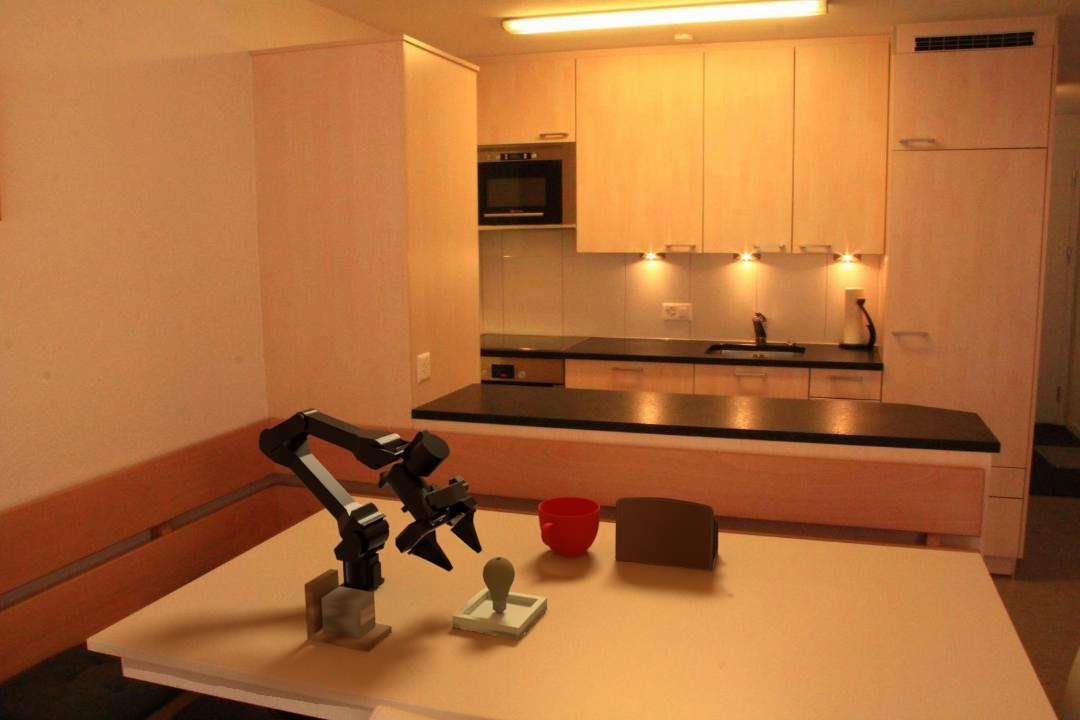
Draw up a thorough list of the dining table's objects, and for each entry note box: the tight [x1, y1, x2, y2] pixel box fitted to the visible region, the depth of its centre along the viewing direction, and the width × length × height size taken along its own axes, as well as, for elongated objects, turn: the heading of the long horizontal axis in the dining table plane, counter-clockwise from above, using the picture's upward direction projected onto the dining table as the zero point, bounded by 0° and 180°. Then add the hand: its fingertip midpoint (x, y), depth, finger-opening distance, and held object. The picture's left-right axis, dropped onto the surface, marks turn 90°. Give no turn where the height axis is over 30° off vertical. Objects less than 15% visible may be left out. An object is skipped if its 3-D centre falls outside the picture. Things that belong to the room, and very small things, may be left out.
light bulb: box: [482, 556, 516, 613], centre depth 146 cm, size 6×6×10 cm
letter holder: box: [614, 496, 720, 572], centre depth 173 cm, size 10×20×14 cm, turn 72°
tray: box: [451, 586, 548, 641], centre depth 147 cm, size 12×12×2 cm
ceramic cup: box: [537, 496, 601, 559], centre depth 175 cm, size 13×17×10 cm
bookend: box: [303, 568, 393, 653], centre depth 141 cm, size 12×7×10 cm, turn 67°
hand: (466, 560), depth 149 cm, fingers open, 9 cm apart
